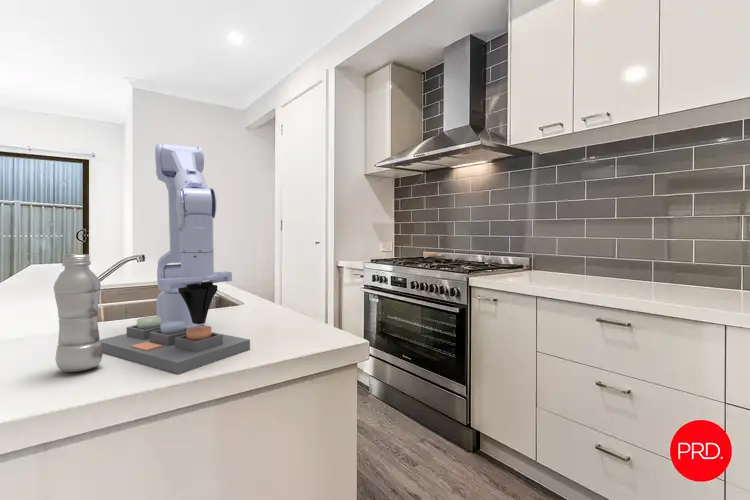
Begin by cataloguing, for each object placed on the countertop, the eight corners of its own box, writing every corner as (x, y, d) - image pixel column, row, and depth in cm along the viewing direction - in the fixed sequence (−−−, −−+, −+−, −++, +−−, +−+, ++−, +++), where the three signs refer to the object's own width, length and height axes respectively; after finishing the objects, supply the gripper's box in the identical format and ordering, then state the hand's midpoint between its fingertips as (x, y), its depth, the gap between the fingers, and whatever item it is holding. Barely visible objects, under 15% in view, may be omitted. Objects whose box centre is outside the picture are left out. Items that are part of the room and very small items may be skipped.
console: (95, 350, 81) (95, 331, 80) (170, 332, 95) (169, 315, 94) (177, 374, 68) (177, 351, 68) (250, 349, 82) (249, 330, 82)
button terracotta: (181, 340, 76) (181, 329, 76) (201, 334, 80) (201, 324, 80) (196, 343, 74) (196, 332, 74) (216, 337, 78) (216, 327, 78)
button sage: (132, 329, 84) (132, 319, 84) (153, 324, 88) (152, 315, 88) (145, 331, 82) (144, 322, 82) (165, 327, 86) (165, 318, 86)
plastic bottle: (72, 364, 73) (67, 253, 72) (111, 363, 73) (107, 253, 72) (46, 377, 66) (40, 256, 65) (89, 376, 67) (84, 256, 66)
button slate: (155, 334, 80) (155, 324, 80) (176, 329, 84) (175, 319, 84) (169, 337, 78) (169, 327, 78) (189, 332, 82) (189, 322, 82)
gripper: (175, 255, 68) (177, 334, 69) (242, 250, 81) (243, 317, 81) (150, 253, 71) (152, 329, 72) (218, 249, 84) (219, 314, 85)
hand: (198, 323), depth 77 cm, fingers closed
